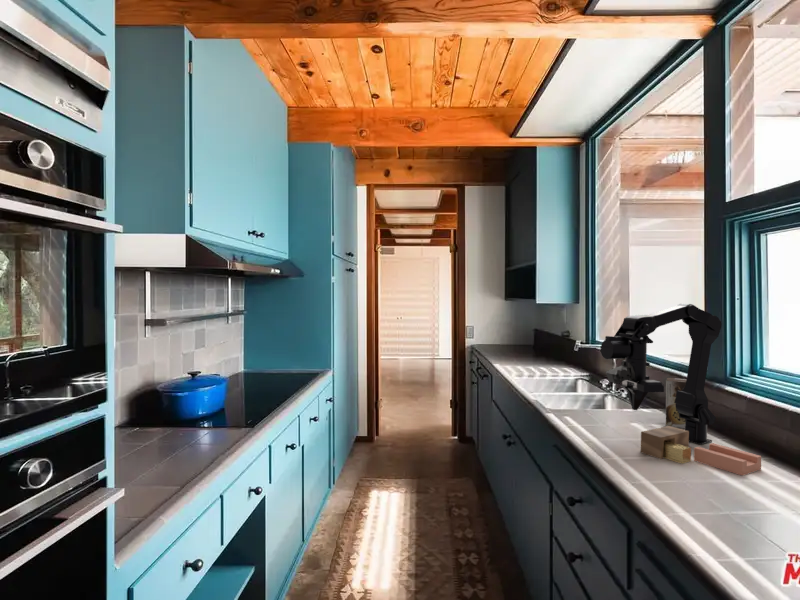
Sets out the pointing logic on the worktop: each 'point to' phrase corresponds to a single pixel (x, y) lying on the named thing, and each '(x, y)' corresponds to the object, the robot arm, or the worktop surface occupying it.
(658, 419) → the worktop surface
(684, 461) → the brass block
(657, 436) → the walnut beam
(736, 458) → the rust cradle
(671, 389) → the product box
